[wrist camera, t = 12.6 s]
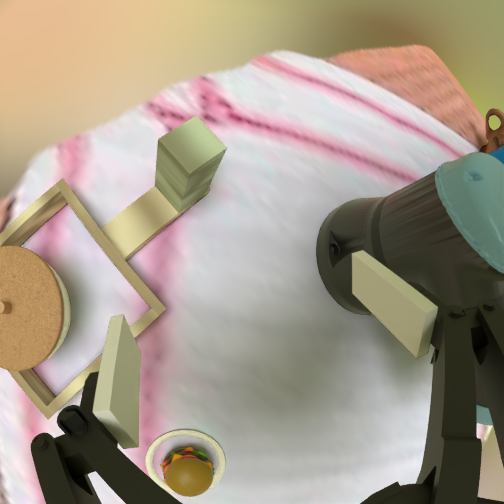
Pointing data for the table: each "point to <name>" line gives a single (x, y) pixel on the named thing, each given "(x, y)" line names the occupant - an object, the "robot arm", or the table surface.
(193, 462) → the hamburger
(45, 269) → the lidded jar
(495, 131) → the decorative planter
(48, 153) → the table surface
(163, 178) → the pull frame
